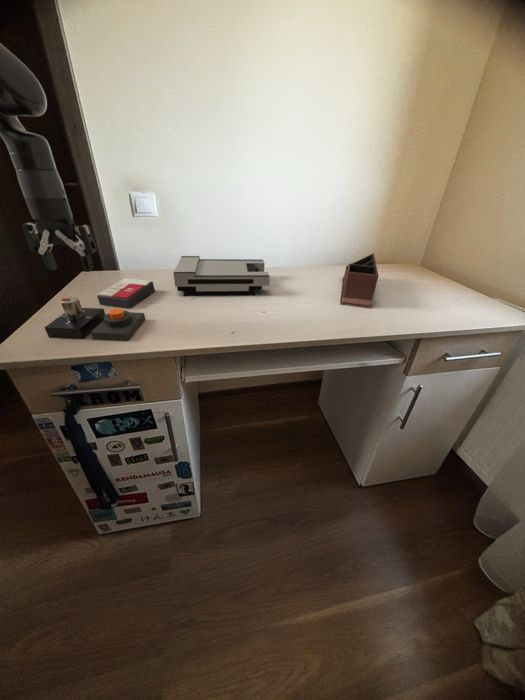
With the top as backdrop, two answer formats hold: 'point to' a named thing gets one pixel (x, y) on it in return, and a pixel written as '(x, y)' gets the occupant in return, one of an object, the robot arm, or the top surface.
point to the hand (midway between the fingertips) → (71, 270)
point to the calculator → (126, 293)
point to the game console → (219, 276)
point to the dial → (72, 308)
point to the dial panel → (75, 324)
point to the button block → (118, 327)
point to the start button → (116, 314)
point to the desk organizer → (360, 282)
